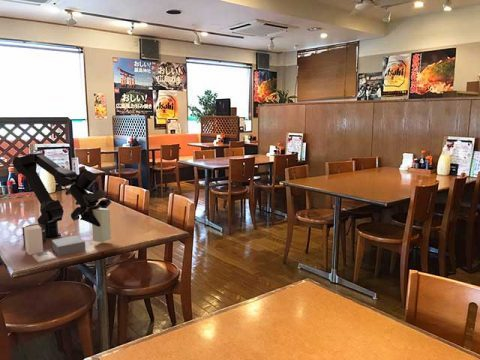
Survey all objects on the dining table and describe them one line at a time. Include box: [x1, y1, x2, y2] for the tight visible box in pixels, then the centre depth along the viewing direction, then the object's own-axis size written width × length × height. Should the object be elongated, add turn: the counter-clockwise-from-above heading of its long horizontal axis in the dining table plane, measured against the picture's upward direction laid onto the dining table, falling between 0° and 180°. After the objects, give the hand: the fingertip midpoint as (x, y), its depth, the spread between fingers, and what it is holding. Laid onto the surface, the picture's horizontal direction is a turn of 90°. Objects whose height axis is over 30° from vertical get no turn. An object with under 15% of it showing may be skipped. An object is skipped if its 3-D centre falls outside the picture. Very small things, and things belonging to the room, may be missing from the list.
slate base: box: [51, 235, 86, 257], centre depth 153 cm, size 10×10×4 cm
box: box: [22, 223, 47, 245], centre depth 161 cm, size 6×6×7 cm
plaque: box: [31, 251, 56, 264], centre depth 144 cm, size 8×6×1 cm
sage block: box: [91, 208, 112, 243], centre depth 159 cm, size 5×5×13 cm
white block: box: [23, 225, 44, 256], centre depth 150 cm, size 5×5×10 cm
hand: (104, 224), depth 158 cm, fingers closed on sage block, 5 cm apart
